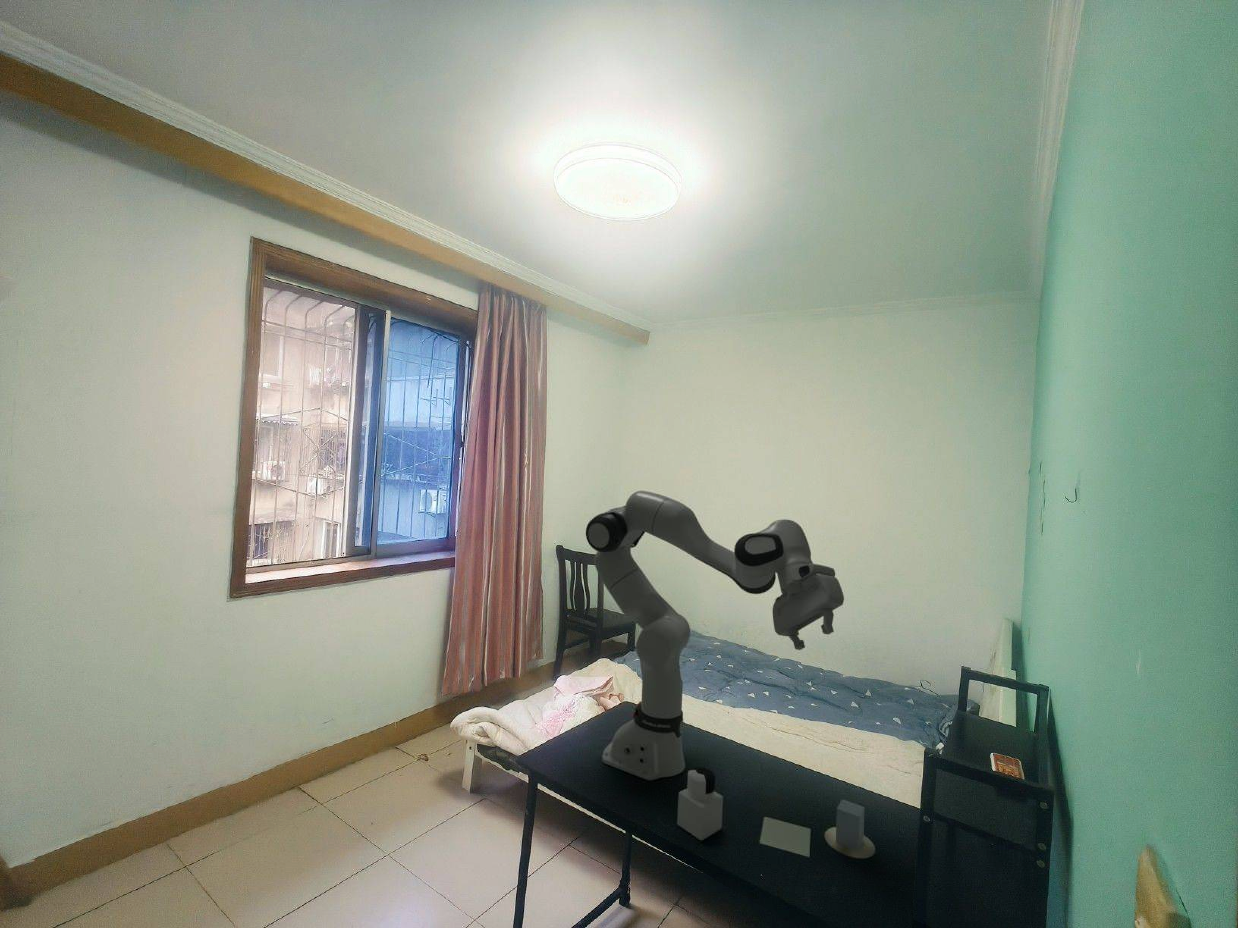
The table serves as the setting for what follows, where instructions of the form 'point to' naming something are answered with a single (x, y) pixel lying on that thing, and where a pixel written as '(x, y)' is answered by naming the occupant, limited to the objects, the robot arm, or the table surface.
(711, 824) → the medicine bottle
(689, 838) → the table surface
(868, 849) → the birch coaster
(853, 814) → the grey block
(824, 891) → the table surface
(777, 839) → the sage mat
